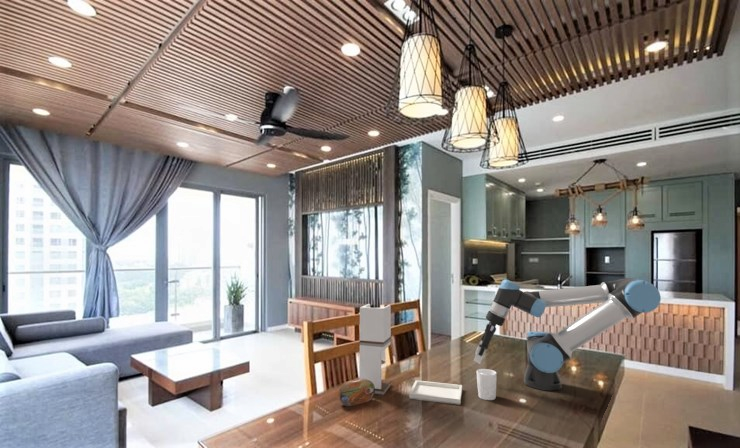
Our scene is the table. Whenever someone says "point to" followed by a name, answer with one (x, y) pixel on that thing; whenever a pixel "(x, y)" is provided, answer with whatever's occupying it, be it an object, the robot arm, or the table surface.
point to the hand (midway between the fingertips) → (477, 358)
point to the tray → (436, 392)
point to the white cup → (486, 384)
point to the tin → (356, 392)
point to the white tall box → (374, 344)
